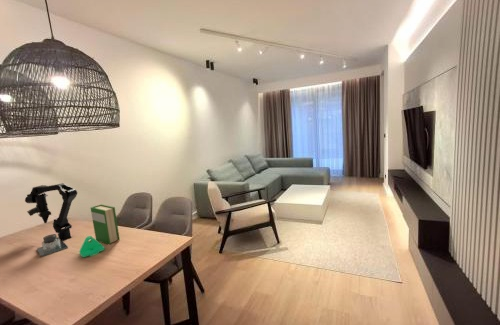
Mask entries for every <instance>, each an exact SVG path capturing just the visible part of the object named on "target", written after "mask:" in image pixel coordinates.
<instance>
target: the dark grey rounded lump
mask: <svg viewBox="0 0 500 325" xmlns="http://www.w3.org/2000/svg"><path fill="white" fill-rule="evenodd" d="M57 238H58V235H57V233H52V234H48V235H45V236H43V241H44V243H49V242H53V241H55V240H57Z"/></svg>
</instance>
